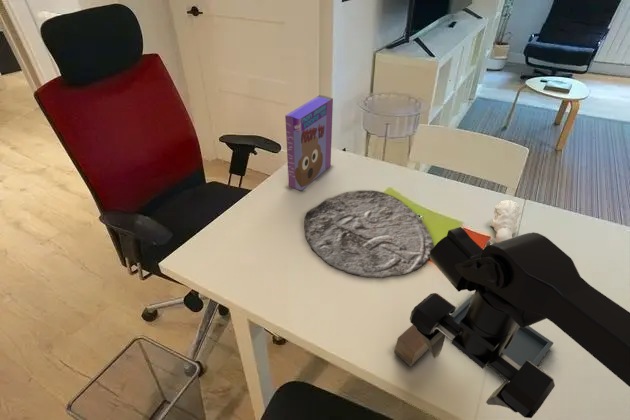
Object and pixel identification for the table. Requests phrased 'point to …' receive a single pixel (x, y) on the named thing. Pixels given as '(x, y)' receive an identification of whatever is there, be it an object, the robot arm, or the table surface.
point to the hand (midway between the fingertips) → (461, 377)
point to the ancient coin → (368, 234)
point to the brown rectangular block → (410, 346)
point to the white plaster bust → (505, 219)
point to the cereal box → (309, 141)
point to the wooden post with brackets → (487, 243)
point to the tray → (517, 341)
